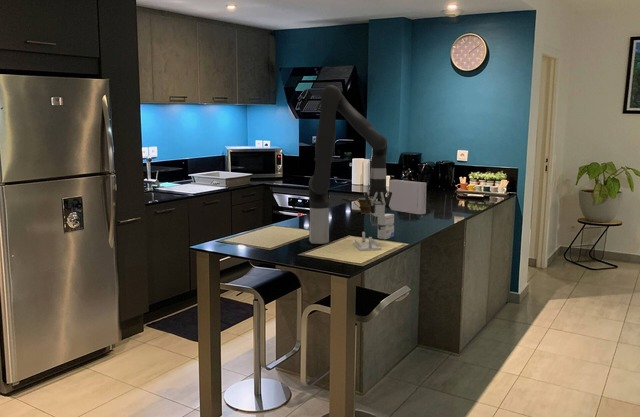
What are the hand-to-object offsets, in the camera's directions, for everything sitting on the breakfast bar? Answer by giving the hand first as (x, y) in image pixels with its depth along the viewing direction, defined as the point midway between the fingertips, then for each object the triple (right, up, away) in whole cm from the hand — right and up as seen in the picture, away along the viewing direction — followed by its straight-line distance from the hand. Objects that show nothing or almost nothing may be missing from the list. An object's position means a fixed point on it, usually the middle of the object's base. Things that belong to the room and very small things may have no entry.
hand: (377, 212), depth 273 cm
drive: (0, -1, 0) cm, 1 cm away
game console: (+29, 0, +100) cm, 104 cm away
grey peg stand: (-5, -16, -5) cm, 18 cm away
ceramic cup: (+1, -2, +90) cm, 90 cm away
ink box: (+6, -13, +17) cm, 22 cm away
